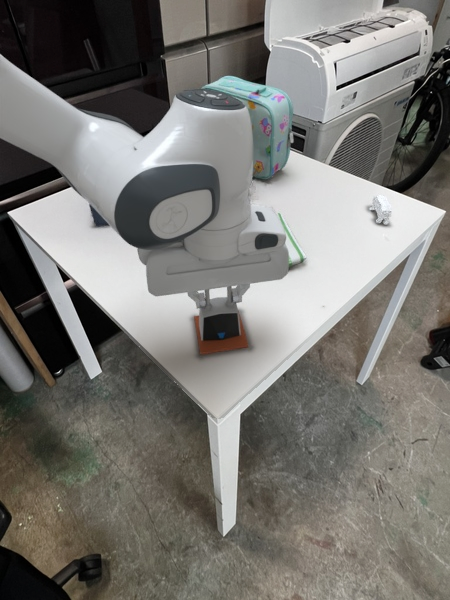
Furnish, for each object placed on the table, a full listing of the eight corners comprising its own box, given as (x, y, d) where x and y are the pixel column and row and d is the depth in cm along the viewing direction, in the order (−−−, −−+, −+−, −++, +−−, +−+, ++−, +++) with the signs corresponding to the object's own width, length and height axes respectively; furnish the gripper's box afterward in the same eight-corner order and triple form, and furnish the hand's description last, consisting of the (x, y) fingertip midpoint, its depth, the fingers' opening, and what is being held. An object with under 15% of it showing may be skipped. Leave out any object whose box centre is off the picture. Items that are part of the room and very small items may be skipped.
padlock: (236, 318, 65) (237, 251, 54) (241, 337, 62) (243, 270, 51) (198, 323, 64) (191, 256, 53) (201, 343, 61) (195, 276, 50)
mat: (200, 354, 60) (200, 352, 60) (194, 318, 66) (194, 316, 65) (248, 347, 61) (248, 345, 61) (238, 311, 67) (238, 309, 66)
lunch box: (295, 173, 101) (306, 86, 86) (272, 188, 96) (279, 98, 80) (222, 145, 114) (221, 65, 98) (199, 157, 109) (193, 74, 93)
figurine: (377, 226, 84) (383, 208, 81) (367, 206, 89) (372, 189, 86) (388, 225, 84) (394, 208, 81) (377, 206, 89) (383, 188, 86)
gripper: (134, 254, 45) (152, 327, 55) (298, 234, 47) (287, 308, 57) (134, 224, 49) (150, 297, 59) (284, 207, 51) (275, 280, 61)
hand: (218, 302), depth 58 cm, fingers closed on padlock, 4 cm apart
